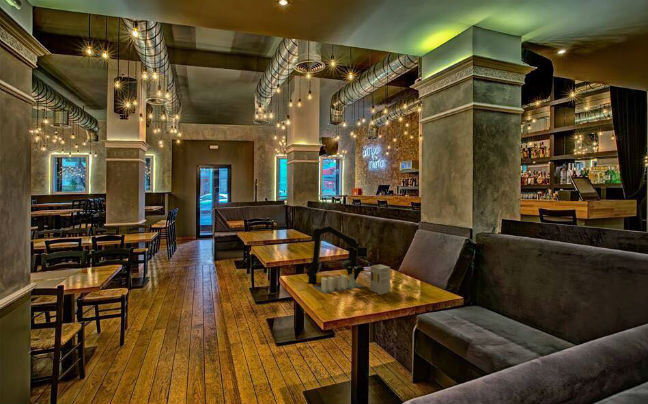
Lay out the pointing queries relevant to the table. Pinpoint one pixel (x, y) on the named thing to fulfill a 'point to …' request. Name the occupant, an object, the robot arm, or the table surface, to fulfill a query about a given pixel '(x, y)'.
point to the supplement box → (380, 279)
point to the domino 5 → (352, 280)
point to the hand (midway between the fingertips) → (352, 278)
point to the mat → (337, 289)
